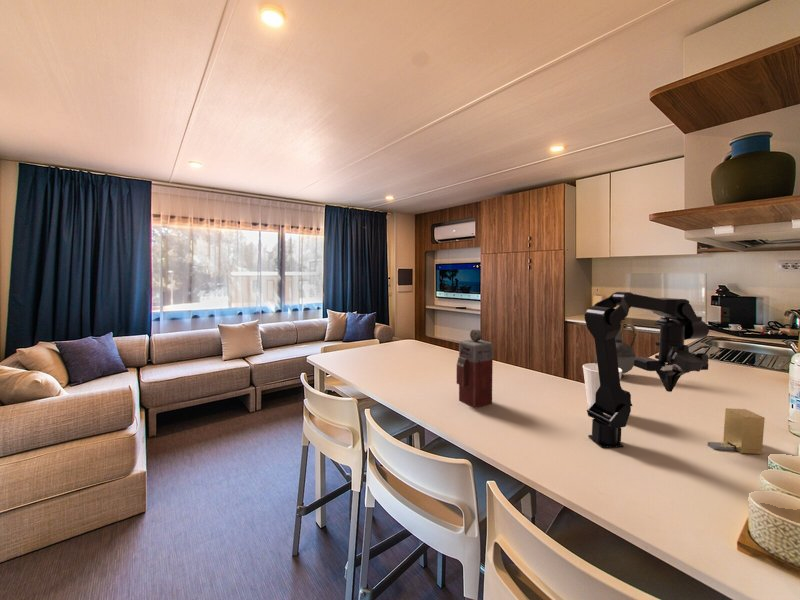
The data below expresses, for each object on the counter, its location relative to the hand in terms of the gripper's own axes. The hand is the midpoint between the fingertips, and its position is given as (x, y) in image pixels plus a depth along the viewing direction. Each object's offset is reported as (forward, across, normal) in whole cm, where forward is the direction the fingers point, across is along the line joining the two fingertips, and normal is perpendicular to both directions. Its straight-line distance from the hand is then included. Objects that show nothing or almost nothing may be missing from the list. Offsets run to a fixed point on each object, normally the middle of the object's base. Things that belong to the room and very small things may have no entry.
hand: (668, 391), depth 100 cm
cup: (+13, -10, +16) cm, 23 cm away
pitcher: (+13, +25, +55) cm, 62 cm away
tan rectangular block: (+13, +13, -10) cm, 21 cm away
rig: (+13, +12, -7) cm, 19 cm away
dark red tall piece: (+13, -52, +28) cm, 61 cm away
